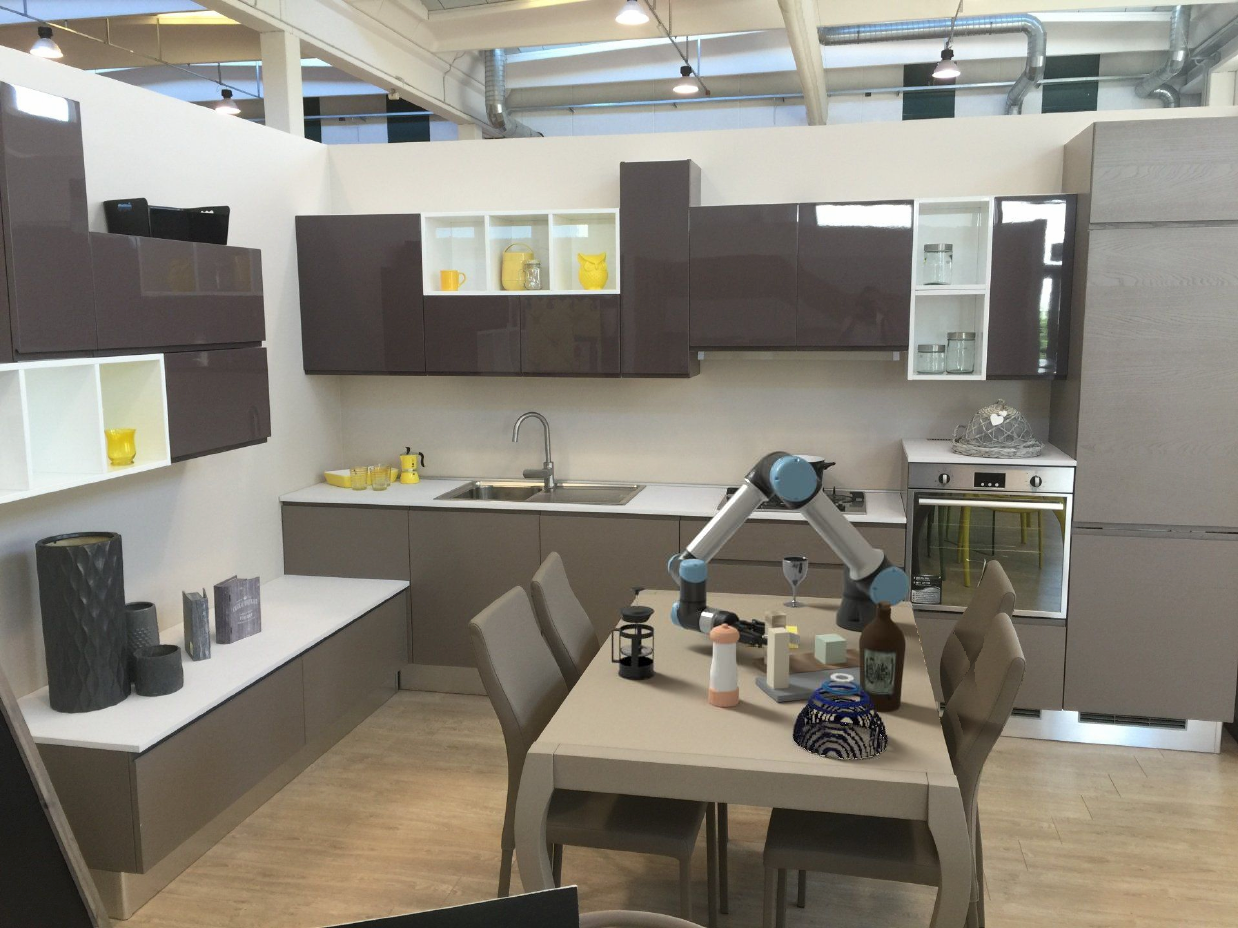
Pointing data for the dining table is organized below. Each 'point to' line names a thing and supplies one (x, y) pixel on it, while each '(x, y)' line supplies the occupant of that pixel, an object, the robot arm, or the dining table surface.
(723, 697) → the pepper shaker
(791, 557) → the wine glass
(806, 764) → the dining table surface
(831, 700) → the blue ringed dome
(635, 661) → the french press
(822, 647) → the sage block
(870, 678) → the olive oil
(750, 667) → the dining table surface
